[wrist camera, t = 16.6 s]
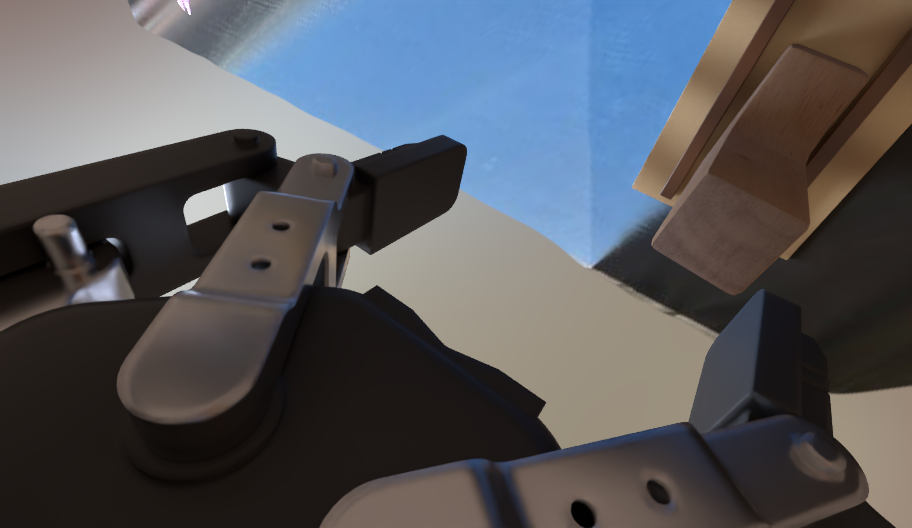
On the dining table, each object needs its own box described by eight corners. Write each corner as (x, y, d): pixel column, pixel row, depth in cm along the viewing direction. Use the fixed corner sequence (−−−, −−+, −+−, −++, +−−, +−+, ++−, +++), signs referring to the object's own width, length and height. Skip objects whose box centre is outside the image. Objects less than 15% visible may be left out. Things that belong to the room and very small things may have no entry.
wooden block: (791, 40, 28) (790, 58, 15) (864, 69, 26) (931, 116, 13) (702, 160, 33) (645, 247, 21) (758, 189, 32) (735, 301, 19)
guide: (766, -62, 27) (765, -66, 25) (1025, -4, 22) (1040, -6, 21) (632, 186, 38) (626, 192, 36) (786, 258, 33) (786, 268, 32)
